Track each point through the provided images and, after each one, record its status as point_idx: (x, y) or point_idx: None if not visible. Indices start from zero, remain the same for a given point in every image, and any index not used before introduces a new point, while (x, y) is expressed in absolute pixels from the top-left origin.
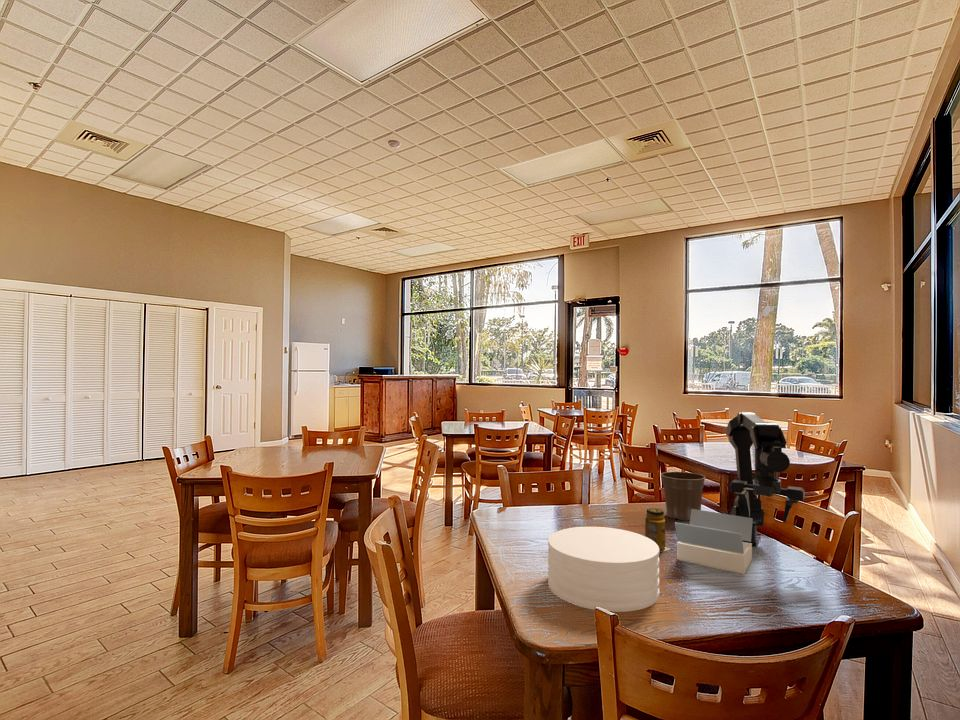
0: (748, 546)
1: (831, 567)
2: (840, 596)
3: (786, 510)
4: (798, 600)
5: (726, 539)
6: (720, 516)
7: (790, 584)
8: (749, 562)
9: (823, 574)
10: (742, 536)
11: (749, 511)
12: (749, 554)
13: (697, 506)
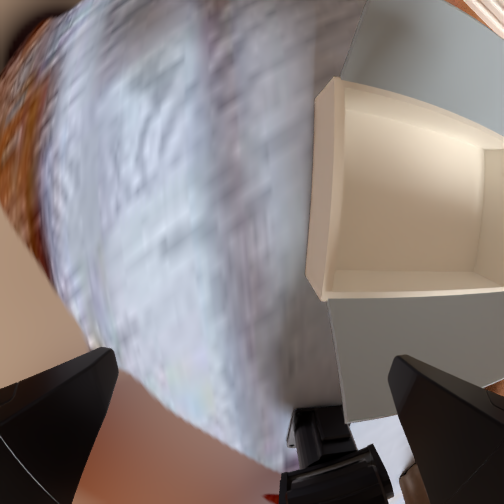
0: (334, 242)
1: (87, 342)
2: (54, 104)
3: (20, 397)
4: (152, 2)
5: (431, 41)
6: (476, 373)
7: (164, 95)
8: (312, 215)
9: (87, 267)
10: (369, 313)
11: (409, 399)
12: (320, 220)
13: (419, 489)
